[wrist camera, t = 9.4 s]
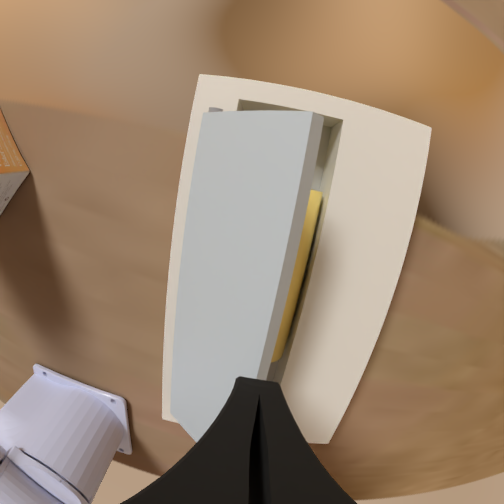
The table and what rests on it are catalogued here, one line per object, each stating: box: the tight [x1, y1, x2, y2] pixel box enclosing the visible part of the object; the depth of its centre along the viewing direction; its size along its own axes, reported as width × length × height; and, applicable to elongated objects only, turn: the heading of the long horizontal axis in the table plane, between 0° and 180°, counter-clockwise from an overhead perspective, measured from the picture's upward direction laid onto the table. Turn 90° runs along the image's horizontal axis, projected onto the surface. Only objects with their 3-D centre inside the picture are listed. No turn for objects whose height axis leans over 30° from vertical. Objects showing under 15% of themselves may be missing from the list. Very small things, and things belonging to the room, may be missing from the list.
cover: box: [170, 107, 324, 442], centre depth 12 cm, size 17×6×1 cm
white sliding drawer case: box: [162, 74, 431, 444], centre depth 16 cm, size 20×11×3 cm, turn 169°
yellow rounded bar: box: [271, 189, 323, 362], centre depth 16 cm, size 9×3×3 cm
